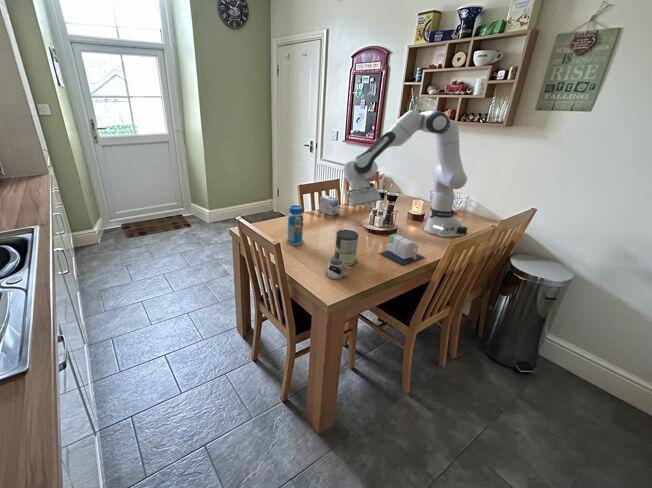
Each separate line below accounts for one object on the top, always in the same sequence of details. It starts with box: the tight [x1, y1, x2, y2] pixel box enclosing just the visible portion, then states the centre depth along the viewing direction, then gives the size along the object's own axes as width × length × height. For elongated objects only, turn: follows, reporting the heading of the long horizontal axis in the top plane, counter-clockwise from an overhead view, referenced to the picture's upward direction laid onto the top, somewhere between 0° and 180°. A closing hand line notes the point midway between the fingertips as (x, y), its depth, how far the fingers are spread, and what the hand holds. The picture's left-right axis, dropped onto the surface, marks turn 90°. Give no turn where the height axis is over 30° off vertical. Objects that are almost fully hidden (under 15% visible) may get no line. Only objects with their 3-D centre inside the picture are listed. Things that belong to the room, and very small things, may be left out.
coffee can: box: [333, 229, 359, 266], centre depth 157 cm, size 10×10×14 cm
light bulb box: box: [319, 195, 340, 217], centre depth 220 cm, size 11×7×11 cm, turn 47°
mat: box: [379, 250, 424, 266], centre depth 165 cm, size 14×16×1 cm
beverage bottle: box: [286, 204, 304, 246], centre depth 174 cm, size 8×8×20 cm
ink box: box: [386, 233, 419, 259], centre depth 164 cm, size 9×5×15 cm
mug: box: [327, 258, 352, 280], centre depth 145 cm, size 10×7×7 cm, turn 69°
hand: (370, 210), depth 178 cm, fingers closed
